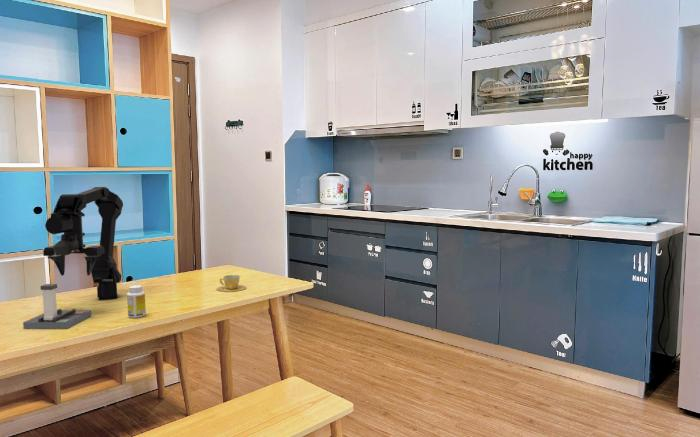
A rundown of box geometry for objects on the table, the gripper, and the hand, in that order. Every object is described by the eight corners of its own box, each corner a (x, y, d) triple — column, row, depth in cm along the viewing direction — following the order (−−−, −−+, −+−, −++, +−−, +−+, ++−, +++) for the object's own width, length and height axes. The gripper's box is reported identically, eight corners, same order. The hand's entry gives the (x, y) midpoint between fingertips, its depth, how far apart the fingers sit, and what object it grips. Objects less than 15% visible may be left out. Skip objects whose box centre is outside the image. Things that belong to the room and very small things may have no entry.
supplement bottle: (147, 313, 176) (146, 284, 175) (143, 318, 171) (141, 288, 170) (131, 314, 176) (129, 284, 175) (125, 318, 170) (124, 288, 169)
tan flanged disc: (249, 286, 218) (249, 273, 217) (241, 292, 206) (241, 279, 206) (222, 285, 219) (221, 273, 218) (212, 292, 207) (212, 279, 206)
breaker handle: (48, 317, 164) (46, 284, 163) (59, 317, 164) (57, 284, 163) (42, 320, 161) (40, 286, 160) (53, 320, 161) (51, 286, 160)
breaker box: (51, 315, 174) (50, 307, 174) (91, 316, 173) (91, 307, 173) (23, 328, 160) (22, 319, 160) (67, 328, 159) (66, 319, 159)
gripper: (31, 233, 168) (34, 280, 170) (86, 233, 167) (89, 280, 169) (52, 229, 179) (54, 273, 181) (104, 229, 179) (106, 273, 180)
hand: (75, 275), depth 177 cm, fingers open, 9 cm apart
